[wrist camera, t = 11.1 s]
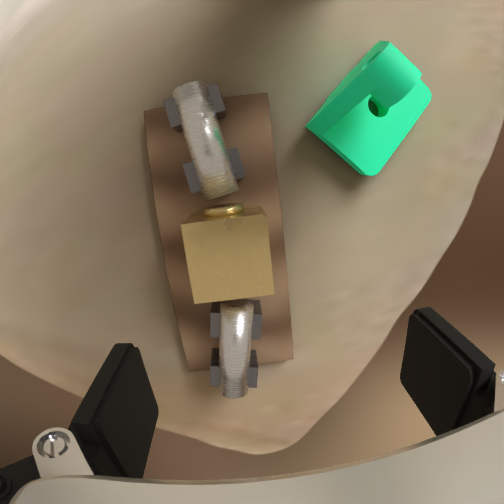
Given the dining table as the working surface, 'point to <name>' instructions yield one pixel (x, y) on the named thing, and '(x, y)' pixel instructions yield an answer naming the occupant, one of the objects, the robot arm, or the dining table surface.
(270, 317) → the shaft bed
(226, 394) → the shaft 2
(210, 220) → the gold square block
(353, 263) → the dining table surface
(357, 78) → the camera mount
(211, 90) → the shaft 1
